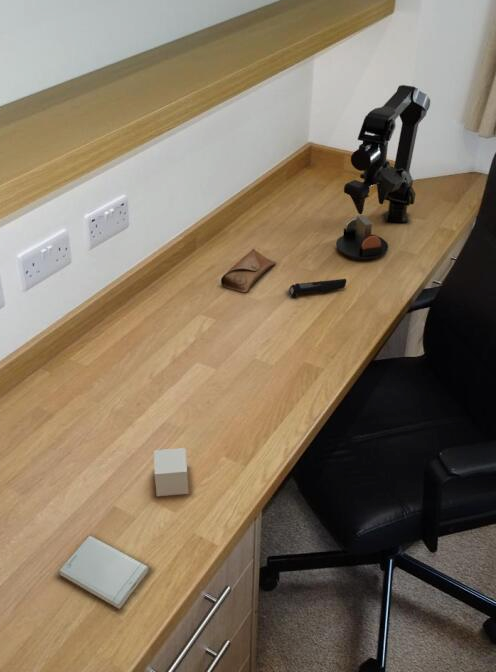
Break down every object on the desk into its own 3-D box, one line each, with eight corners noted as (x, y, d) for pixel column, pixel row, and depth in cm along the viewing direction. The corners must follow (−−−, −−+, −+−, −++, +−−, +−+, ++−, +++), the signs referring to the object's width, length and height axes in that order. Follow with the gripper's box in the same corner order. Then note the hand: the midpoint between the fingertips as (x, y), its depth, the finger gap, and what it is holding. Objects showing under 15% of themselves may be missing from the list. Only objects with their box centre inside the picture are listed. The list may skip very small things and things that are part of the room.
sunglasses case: (248, 292, 189) (236, 271, 187) (228, 297, 193) (217, 277, 192) (277, 262, 201) (267, 242, 200) (258, 268, 206) (248, 248, 204)
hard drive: (58, 570, 117) (118, 603, 112) (90, 534, 123) (147, 564, 118) (60, 576, 118) (119, 610, 113) (91, 540, 124) (148, 571, 119)
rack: (348, 263, 199) (350, 235, 194) (328, 238, 211) (330, 212, 206) (396, 255, 202) (400, 227, 197) (374, 231, 214) (377, 205, 209)
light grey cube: (188, 493, 132) (187, 471, 129) (156, 496, 132) (154, 474, 129) (186, 469, 137) (185, 447, 134) (156, 472, 137) (153, 450, 134)
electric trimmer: (347, 292, 189) (348, 282, 187) (291, 298, 186) (292, 288, 185) (343, 285, 192) (344, 275, 190) (288, 291, 190) (288, 281, 188)
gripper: (377, 176, 183) (371, 229, 191) (421, 156, 192) (414, 207, 201) (344, 164, 190) (340, 215, 199) (388, 145, 200) (382, 195, 208)
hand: (370, 208), depth 201 cm, fingers open, 9 cm apart
